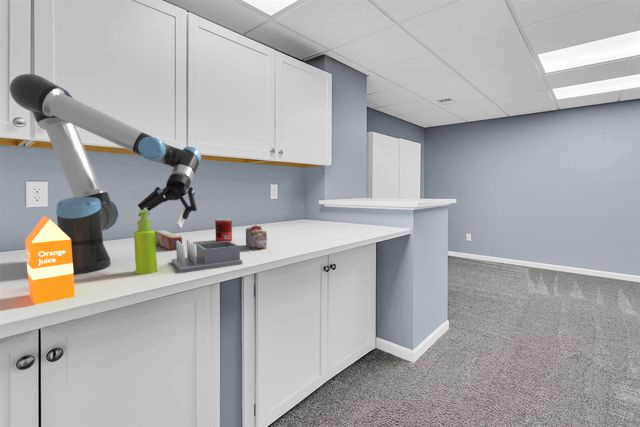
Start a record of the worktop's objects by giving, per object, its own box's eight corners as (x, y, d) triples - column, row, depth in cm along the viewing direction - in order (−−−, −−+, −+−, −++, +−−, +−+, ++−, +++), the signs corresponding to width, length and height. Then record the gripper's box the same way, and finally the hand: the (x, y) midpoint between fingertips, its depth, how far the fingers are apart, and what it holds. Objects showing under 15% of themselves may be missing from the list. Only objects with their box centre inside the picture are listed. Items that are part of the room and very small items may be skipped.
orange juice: (34, 305, 74) (27, 219, 72) (29, 296, 79) (22, 217, 78) (75, 296, 79) (70, 217, 78) (68, 288, 85) (63, 214, 83)
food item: (269, 249, 139) (269, 226, 138) (251, 251, 135) (251, 228, 134) (259, 244, 150) (259, 223, 150) (242, 245, 147) (242, 224, 146)
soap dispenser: (135, 276, 97) (132, 211, 95) (136, 270, 103) (133, 209, 101) (156, 273, 100) (154, 210, 98) (156, 268, 106) (154, 208, 104)
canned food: (234, 239, 161) (234, 218, 160) (228, 242, 153) (227, 220, 152) (219, 239, 162) (219, 218, 161) (213, 242, 154) (212, 219, 153)
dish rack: (180, 272, 101) (179, 247, 100) (171, 262, 114) (170, 240, 113) (242, 264, 112) (241, 241, 111) (227, 255, 125) (227, 235, 125)
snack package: (184, 249, 138) (183, 234, 137) (168, 251, 133) (167, 235, 133) (168, 243, 153) (167, 229, 152) (153, 244, 149) (152, 230, 148)
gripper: (215, 186, 120) (199, 232, 107) (153, 186, 122) (129, 231, 109) (209, 172, 114) (190, 219, 101) (143, 172, 116) (117, 218, 103)
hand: (158, 225), depth 105 cm, fingers open, 13 cm apart
